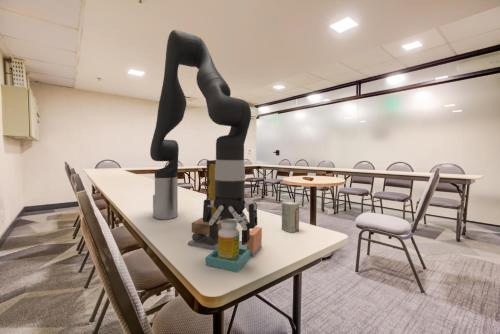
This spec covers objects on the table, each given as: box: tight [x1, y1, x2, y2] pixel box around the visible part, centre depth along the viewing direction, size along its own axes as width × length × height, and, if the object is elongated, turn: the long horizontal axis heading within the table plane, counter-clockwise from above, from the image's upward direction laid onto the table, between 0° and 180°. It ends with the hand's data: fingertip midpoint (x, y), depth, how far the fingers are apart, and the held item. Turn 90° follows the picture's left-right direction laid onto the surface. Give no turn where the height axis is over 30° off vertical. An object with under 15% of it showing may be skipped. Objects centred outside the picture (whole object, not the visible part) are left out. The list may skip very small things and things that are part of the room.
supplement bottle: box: [218, 219, 240, 261], centre depth 57 cm, size 5×5×10 cm
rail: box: [187, 226, 263, 257], centre depth 66 cm, size 21×7×6 cm, turn 69°
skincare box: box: [281, 201, 300, 233], centre depth 81 cm, size 5×4×10 cm
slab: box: [191, 217, 222, 244], centre depth 68 cm, size 8×6×5 cm
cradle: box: [204, 247, 252, 273], centre depth 57 cm, size 9×9×2 cm
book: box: [206, 159, 229, 220], centre depth 87 cm, size 22×8×25 cm, turn 179°
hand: (229, 241), depth 57 cm, fingers open, 8 cm apart
